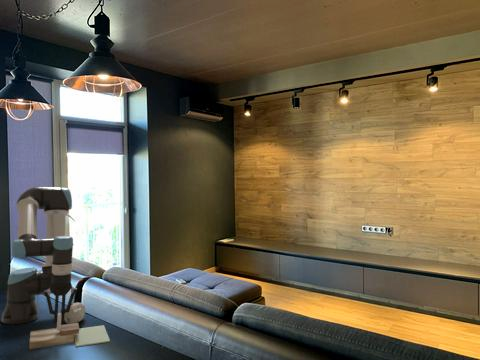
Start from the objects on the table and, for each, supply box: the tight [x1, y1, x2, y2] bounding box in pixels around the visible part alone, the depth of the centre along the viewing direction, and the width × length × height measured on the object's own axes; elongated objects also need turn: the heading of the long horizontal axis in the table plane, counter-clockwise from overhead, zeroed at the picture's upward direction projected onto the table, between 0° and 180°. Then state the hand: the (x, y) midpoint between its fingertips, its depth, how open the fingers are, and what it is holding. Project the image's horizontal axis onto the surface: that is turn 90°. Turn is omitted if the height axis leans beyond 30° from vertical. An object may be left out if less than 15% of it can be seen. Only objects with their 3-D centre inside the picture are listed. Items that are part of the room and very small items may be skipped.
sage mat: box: [74, 325, 111, 348], centre depth 156 cm, size 18×13×1 cm
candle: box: [59, 301, 86, 324], centre depth 171 cm, size 9×11×15 cm
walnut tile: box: [60, 322, 80, 336], centre depth 153 cm, size 7×7×2 cm
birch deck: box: [29, 327, 75, 350], centre depth 150 cm, size 12×16×2 cm
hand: (58, 329), depth 151 cm, fingers closed
